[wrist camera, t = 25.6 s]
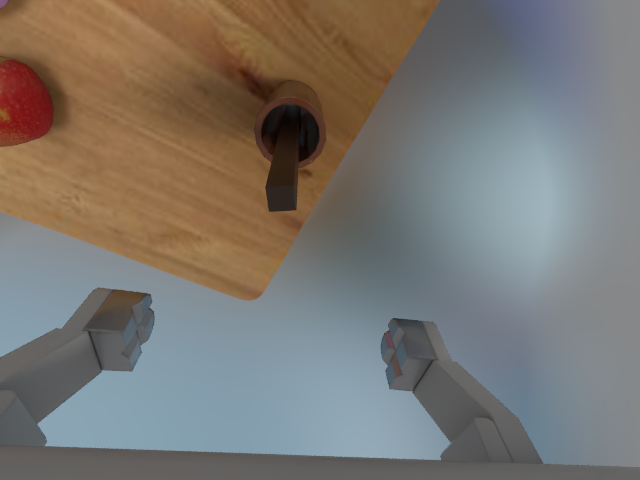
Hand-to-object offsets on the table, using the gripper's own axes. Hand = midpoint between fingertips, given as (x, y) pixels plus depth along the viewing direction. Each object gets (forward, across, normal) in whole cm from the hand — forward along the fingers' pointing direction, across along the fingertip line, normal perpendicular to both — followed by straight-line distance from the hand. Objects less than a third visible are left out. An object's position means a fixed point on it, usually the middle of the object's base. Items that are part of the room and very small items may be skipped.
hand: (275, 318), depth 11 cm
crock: (+31, 0, 0) cm, 31 cm away
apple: (+31, +29, +4) cm, 43 cm away
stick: (+31, 0, 0) cm, 31 cm away
